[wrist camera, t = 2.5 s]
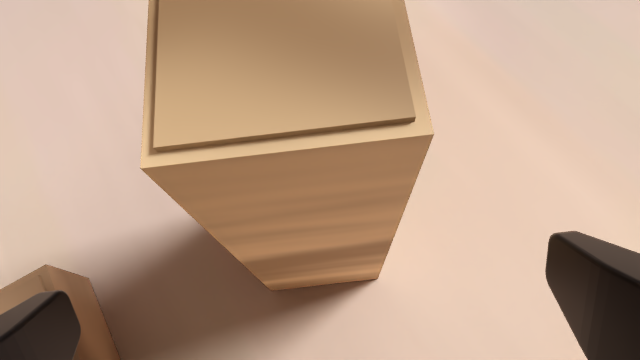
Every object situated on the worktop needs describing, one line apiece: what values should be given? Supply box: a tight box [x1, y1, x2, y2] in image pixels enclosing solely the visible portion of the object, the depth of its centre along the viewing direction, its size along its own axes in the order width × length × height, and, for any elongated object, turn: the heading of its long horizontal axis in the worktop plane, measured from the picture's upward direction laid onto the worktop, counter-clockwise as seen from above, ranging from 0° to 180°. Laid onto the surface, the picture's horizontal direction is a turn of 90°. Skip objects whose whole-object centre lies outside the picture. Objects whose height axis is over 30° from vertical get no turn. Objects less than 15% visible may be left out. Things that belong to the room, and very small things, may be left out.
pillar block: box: [140, 0, 434, 291], centre depth 14 cm, size 4×4×13 cm
